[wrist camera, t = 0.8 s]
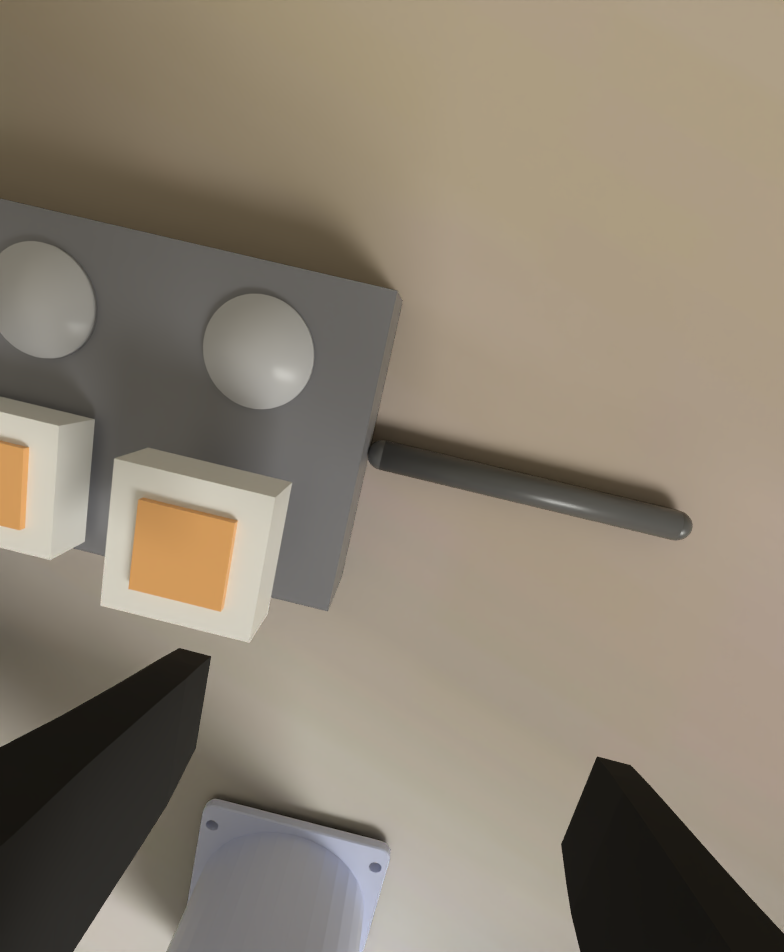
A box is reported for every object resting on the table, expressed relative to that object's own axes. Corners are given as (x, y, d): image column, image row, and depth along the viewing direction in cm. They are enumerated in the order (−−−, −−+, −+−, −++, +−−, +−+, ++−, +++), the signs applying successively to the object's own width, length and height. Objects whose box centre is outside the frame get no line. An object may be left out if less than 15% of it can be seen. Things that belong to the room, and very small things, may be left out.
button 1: (267, 613, 14) (246, 647, 13) (133, 580, 15) (95, 609, 13) (292, 482, 14) (272, 499, 12) (148, 447, 14) (109, 460, 12)
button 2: (85, 541, 16) (45, 562, 14) (-36, 512, 16) (-89, 529, 15) (95, 419, 15) (53, 426, 13) (-33, 388, 15) (-90, 392, 14)
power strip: (633, 650, 19) (666, 698, 16) (-172, 452, 19) (-267, 467, 17) (739, 378, 16) (798, 383, 13) (-185, 163, 17) (-299, 128, 14)
